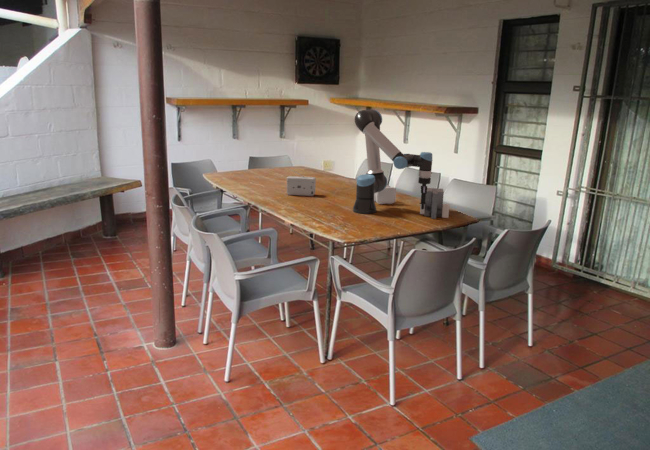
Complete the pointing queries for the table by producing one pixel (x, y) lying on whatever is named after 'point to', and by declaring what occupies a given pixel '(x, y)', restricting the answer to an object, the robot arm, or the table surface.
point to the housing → (434, 201)
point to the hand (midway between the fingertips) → (422, 213)
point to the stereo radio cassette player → (301, 185)
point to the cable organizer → (385, 195)
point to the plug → (444, 213)
